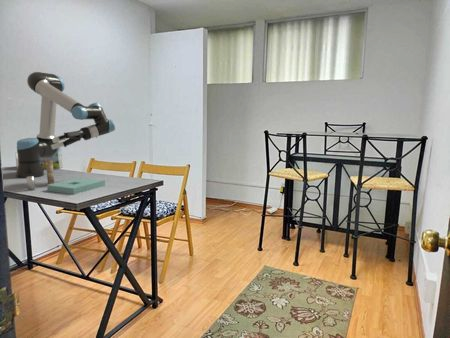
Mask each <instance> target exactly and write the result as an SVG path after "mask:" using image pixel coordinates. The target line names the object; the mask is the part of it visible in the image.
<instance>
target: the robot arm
mask: <svg viewBox="0 0 450 338" xmlns="http://www.w3.org/2000/svg"><path fill="white" fill-rule="evenodd" d="M26 82H27V86H28V87H29V89H31V90H32V91H33V92H34V93H36V94H37V95H40V97H41V103H40V118H39V119H40V120H39V121H40V122H39V133H38V134H37V135H36V137H28V138H22V139H19V140H17V141H16V152H17V153H18V167H16V173H15V177H16V178H21V179H22V178H24V179H25V178H26V179H27V177H28V176H34V178H36V177H41V176H45V171H44V169H43V168H42V166H41V164H40V158H41V157H49V156H53V155H56V154H57V153H58V152H59V150H60V148H62V147H64V148H67V147H68V146H70V145H72V144H74V143H76V142H79V141H82V140H81V139H83V140H84V141H89V140H91V139H94V138H98V137H100V136H104V135H106V134H110V133H112V132H115V131H116V124H115V122H114V120H112V119H108V118H107V116H106V113H105V111H104V108H103V106H102V105H101V103H99V102H92V103H91V104H88V106H87V105H83V104H81V103H80V102H79V101H77V100H76V99H74V98H72V97H71V96H69V95H68V94H66V93H65V92H64V91H65V83H64V80H63V78H62V77H61V76H59V75H57V74H54V73H47V72H42V71H34V72H32V73H29V75H28V76H27V80H26ZM57 105H58V106H60V107H61V108H63V109H64V110H66V111H68V112H69V113H70V114H71V116H72V117H73V119H75V120H80V121H81V120H82V121H83V120H93V121H94V124H90V125H88V126H84V127H81V128H80V129H79V130H75V131H74V130H73V131H68V132H63V134H61V135H58V136H56V135H55V130H56V128H55V127H56V117H57V116H56V115H57Z"/></svg>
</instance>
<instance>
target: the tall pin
mask: <svg viewBox="0 0 450 338" xmlns="http://www.w3.org/2000/svg"><path fill="white" fill-rule="evenodd" d="M46 167H47V169H46V178H47V185H49V184H54V183H55V176H54V172H55V171H54V169H53V160H46Z"/></svg>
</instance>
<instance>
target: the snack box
mask: <svg viewBox="0 0 450 338" xmlns="http://www.w3.org/2000/svg"><path fill="white" fill-rule="evenodd" d="M62 157H63V156H62V147H60V150H59V152H58V153H57V154H56V155H53V156H49V157H41V158H40V164H41V166H42V168H45V169H44V170H47V167H46V160H53V170H61V169H62V168H63V158H62Z"/></svg>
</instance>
